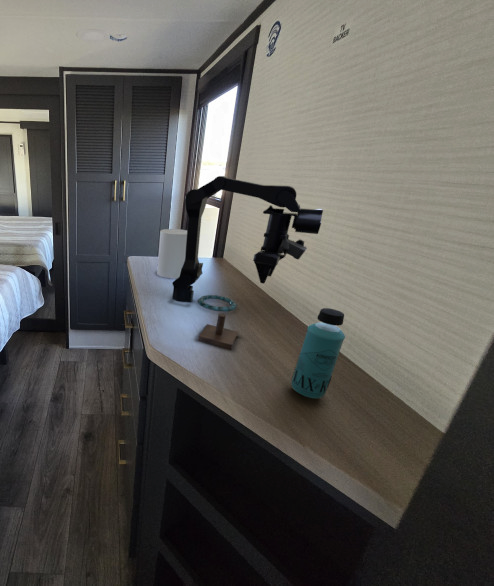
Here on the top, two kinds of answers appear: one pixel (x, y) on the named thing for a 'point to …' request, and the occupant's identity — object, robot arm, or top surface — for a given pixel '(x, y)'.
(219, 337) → the peg stand
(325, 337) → the beverage bottle
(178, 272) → the canister
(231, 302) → the teal ring
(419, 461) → the top surface
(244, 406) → the top surface
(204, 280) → the top surface
